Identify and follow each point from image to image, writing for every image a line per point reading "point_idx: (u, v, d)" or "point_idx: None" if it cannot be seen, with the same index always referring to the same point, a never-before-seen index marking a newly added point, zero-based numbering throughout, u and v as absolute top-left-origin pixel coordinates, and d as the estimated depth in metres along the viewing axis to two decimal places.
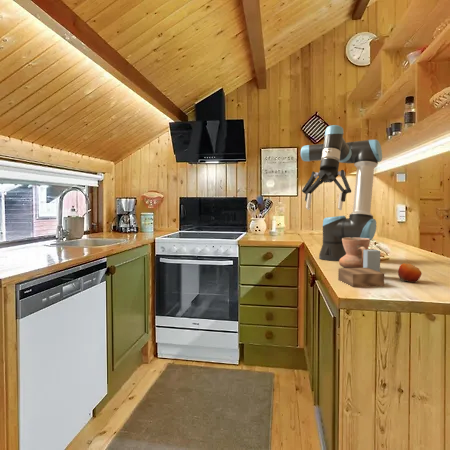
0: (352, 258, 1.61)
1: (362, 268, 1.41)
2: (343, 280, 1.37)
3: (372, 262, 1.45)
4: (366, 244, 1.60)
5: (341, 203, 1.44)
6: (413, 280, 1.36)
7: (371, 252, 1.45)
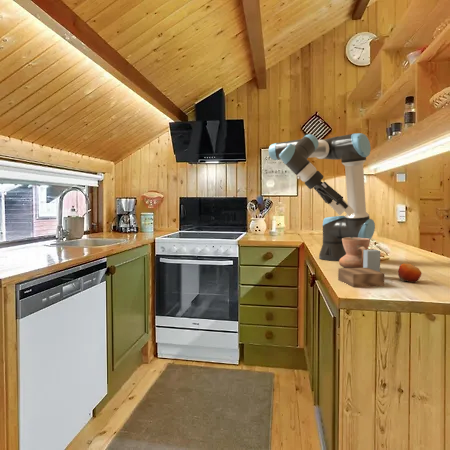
0: (352, 258, 1.61)
1: (362, 268, 1.41)
2: (343, 280, 1.37)
3: (372, 262, 1.45)
4: (366, 244, 1.60)
5: (348, 209, 1.40)
6: (413, 280, 1.36)
7: (371, 252, 1.45)
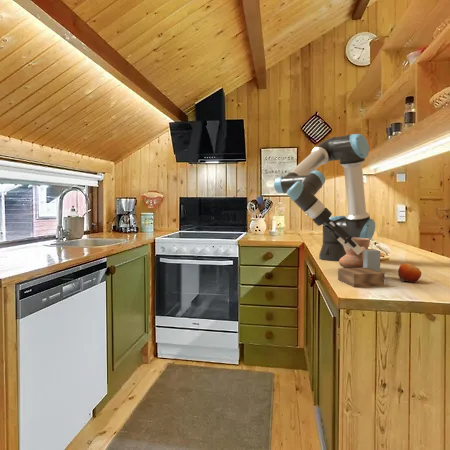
0: (352, 258, 1.61)
1: (361, 268, 1.41)
2: (343, 280, 1.37)
3: (372, 262, 1.45)
4: (366, 244, 1.60)
5: (356, 247, 1.40)
6: (413, 280, 1.36)
7: (371, 252, 1.45)
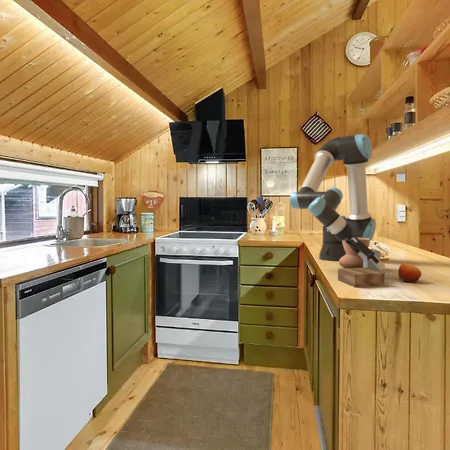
0: (353, 258, 1.61)
1: (361, 268, 1.41)
2: (343, 280, 1.37)
3: None
4: (366, 244, 1.60)
5: (379, 263, 1.40)
6: (413, 280, 1.36)
7: None
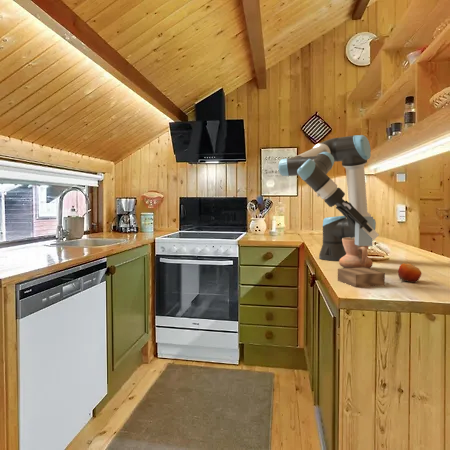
0: (353, 258, 1.61)
1: (360, 268, 1.41)
2: (344, 280, 1.37)
3: None
4: None
5: (372, 232, 1.34)
6: (413, 280, 1.36)
7: None
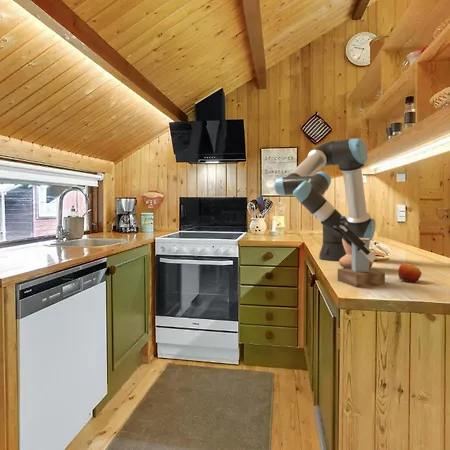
0: None
1: None
2: (344, 281, 1.36)
3: (361, 255, 1.34)
4: None
5: (369, 255, 1.31)
6: (413, 280, 1.36)
7: None
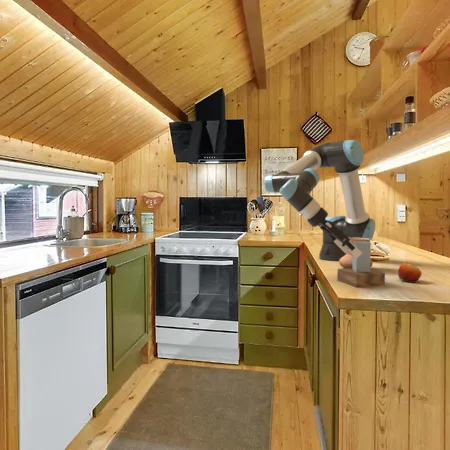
0: None
1: None
2: (344, 281, 1.36)
3: (362, 255, 1.33)
4: None
5: (355, 250, 1.29)
6: (413, 280, 1.36)
7: (360, 244, 1.33)
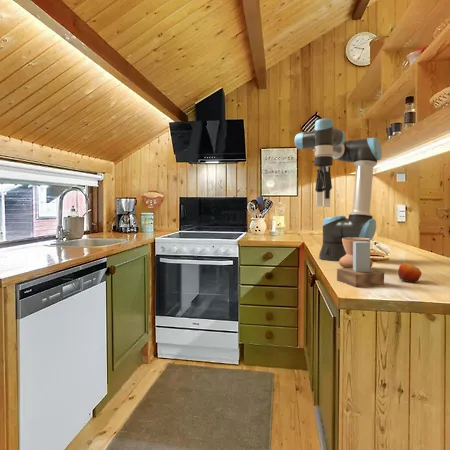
0: None
1: None
2: (343, 280, 1.37)
3: (361, 255, 1.34)
4: None
5: (327, 201, 1.47)
6: (413, 280, 1.36)
7: (360, 244, 1.33)
